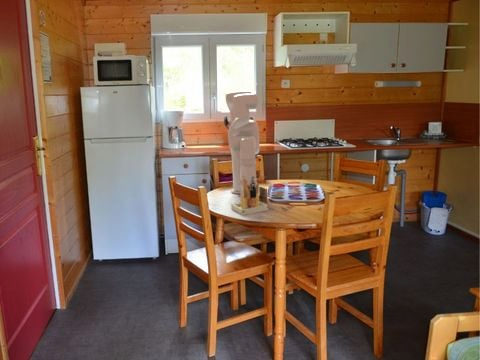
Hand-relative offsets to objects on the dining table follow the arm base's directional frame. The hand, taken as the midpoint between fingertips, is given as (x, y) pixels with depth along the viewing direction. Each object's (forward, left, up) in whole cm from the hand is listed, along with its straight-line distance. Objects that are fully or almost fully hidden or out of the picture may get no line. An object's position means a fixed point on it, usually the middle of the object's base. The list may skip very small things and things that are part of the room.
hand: (249, 195), depth 222 cm
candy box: (0, 0, -7) cm, 7 cm away
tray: (0, 0, -7) cm, 7 cm away
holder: (-11, +9, -7) cm, 16 cm away
